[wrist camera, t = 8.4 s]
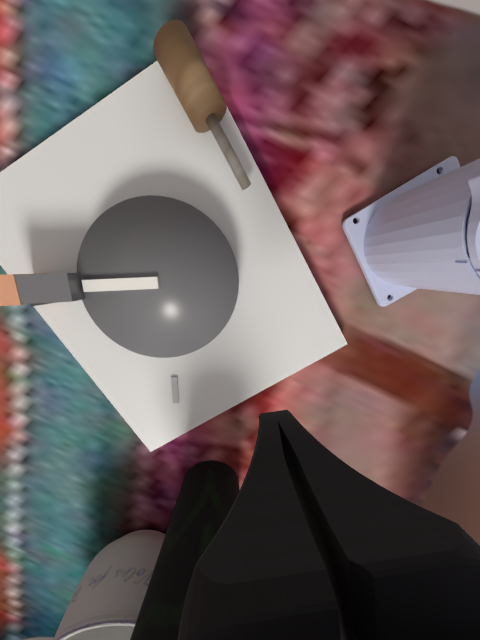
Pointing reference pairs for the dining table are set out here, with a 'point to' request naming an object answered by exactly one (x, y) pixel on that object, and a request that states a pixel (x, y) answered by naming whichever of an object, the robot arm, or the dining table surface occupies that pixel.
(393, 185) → the dining table surface
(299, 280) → the board
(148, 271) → the grey handled disc
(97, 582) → the teacup
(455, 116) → the dining table surface
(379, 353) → the dining table surface
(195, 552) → the cup
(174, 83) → the screwdriver
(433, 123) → the dining table surface
